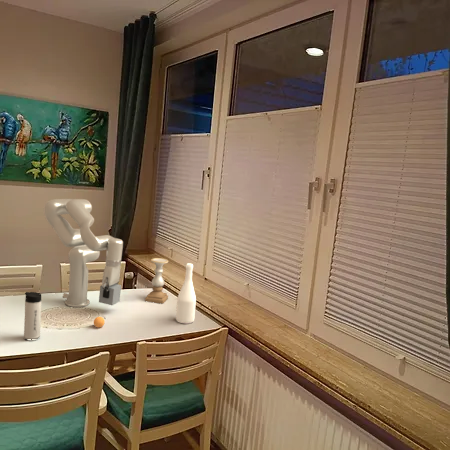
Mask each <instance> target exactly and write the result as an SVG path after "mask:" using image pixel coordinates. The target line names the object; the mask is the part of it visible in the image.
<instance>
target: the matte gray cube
mask: <svg viewBox="0 0 450 450" xmlns="http://www.w3.org/2000/svg"><path fill="white" fill-rule="evenodd" d="M107 284H108V283H107ZM108 285H109V284H108ZM106 287H107V288H108V286H106ZM121 291H122V285H121V284H119V283H118V284H113V285H111V286H110V288H109V298H104V297H103V287H102V284H101V285H100V287H99V297H98V303H101V304H104V305H108V306H114V305H115V304H117V303H119V302H121V301H120V300H121Z"/></svg>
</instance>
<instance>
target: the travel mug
mask: <svg viewBox="0 0 450 450" xmlns="http://www.w3.org/2000/svg"><path fill="white" fill-rule="evenodd" d="M24 295H25V302H24V321H23V322H24V325H23V327H24V328H23V329H24V330H23V339H24V338H25V339H31V340H32V339H38V338H39V337H40V338H41V317H42V294H41V293H40V292H36V291H26V292H25V293H24ZM40 338H39V339H40ZM25 339H24V340H25ZM39 339H38V340H39Z"/></svg>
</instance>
